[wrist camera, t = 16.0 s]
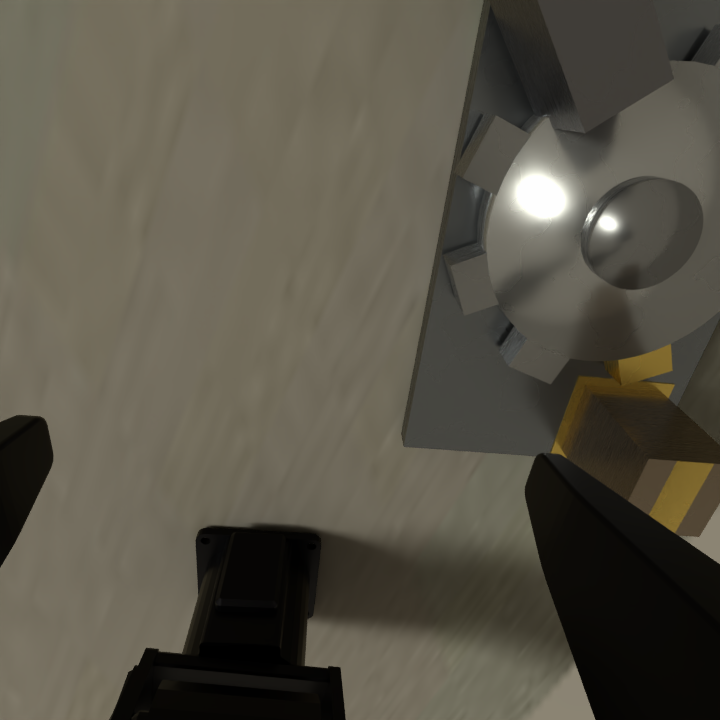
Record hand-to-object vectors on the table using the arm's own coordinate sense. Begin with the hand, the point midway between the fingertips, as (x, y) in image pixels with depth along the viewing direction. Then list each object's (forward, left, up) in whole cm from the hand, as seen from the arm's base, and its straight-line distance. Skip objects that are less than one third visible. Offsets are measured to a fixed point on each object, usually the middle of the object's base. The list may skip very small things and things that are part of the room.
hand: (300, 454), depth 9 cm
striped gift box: (-6, -14, -11) cm, 18 cm away
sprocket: (+5, -9, -11) cm, 15 cm away
